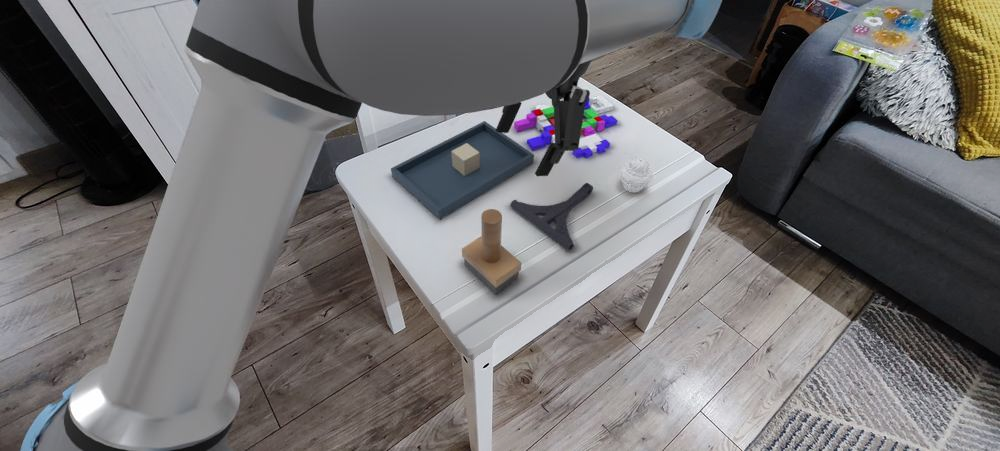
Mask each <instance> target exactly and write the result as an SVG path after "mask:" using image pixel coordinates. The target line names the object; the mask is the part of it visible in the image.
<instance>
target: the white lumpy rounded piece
mask: <svg viewBox="0 0 1000 451" xmlns="http://www.w3.org/2000/svg"><path fill="white" fill-rule="evenodd" d="M649 166H650V165H649V163H648V161H647V160H646V159H645V158H642V157H635V158H633V159H631V161H629V162H627V163H625V164H624V165H623V166H622V167H620V171H619V173H620V180H621V184H622V186H623V188H624V189H625V191H627V192H629V193H633V194H634V193H638V192H640V191H641V190H643V189H645V187H647V186H649V184H650V183H651V182H652V180H653V175H654V174H653V171H652V169H651V168H650V167H649Z"/></svg>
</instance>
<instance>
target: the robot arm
mask: <svg viewBox="0 0 1000 451" xmlns="http://www.w3.org/2000/svg"><path fill="white" fill-rule="evenodd" d="M192 1H193V3H194V4H195V6H196V10H195V11H196V12H195V15H194V17H193V20H192V23H191V28H190V31H189V34H188V37H187V39H186V43H185V46H184V52H185V55H186V56H187V58H188V59H189V61H190V63H191V64H192V66H193V68H194V70H195V71H196V73H197V75H198V77H199V78H200V84H201V85H200V86H201V87H200V90H199V93H198V97H197V99H196V101H195V105H194V108H193V111H192V114H191V117H190V120H189V122H188V126H187V129H186V132H185V134H184V138H183V140H182V143H181V146H180V150H179V152H178V154H177V158H176V161H175V164H174V167H173V169H172V173H171V176H170V178H169V182H168V184H167V187H166V190H165V194H164V196H163V199H162V202H161V205H160V208H159V211H158V213H157V217H156V220H155V223H154V224H153V225H154V226H153V228H152V230H151V234H150V237H149V240H148V243H147V246H146V250H145V252H144V255H143V258H142V261H141V263H140V266H139V270H138V273H137V275H136V279H135V281H134V284H133V287H132V290H131V293H130V296H129V299H128V302H127V305H126V309H125V311H124V314H123V316H122V319H121V323H120V326H119V329H118V332H117V335H116V337H115V340H114V343H113V346H112V349H111V352H110V354H109V358H108V361H107V362H104V363H102V364H100V365H98V366H96V367H94V368H92V369H91V370H90V371H89V372H86V374H84V376H82V377H81V379H80V380H79V381H77V382H75V383H74V384H72V385H71V386H69V387H68V388H67V389H65V390H64V391H63V392H62V393H61V394H62V399H61V400H59V401H58V402H55V403H49V404H48V405H46V406H45V407H44V409H43V410H42V411H41V412H40V413H39V414H38V415H37V417H36V418H35V419H34V421H33V422H32V424H31V425H30V426H29V428H28V430H27V432H26V434H25V436H24V438H23V441H22V444H21V448H20V451H234V449H233V448H232V447H231V445H229V440H228V436H229V433H230V432H231V429H232V426H233V424H234V420H235V418H236V415H237V414H238V411H239V407H240V403H241V394H240V389H239V388H238V386H237V384H236V382H235V381H234V379H233V378H232V375H233V373H234V370H235V368H236V365H237V363H238V360H239V357H240V355H241V353H242V351H243V348H244V345H245V342H246V340H247V337H248V335H249V333H250V329H251V327H252V324H253V322H254V320H255V317H256V314H257V312H258V310H259V307H260V304H261V302H262V299H263V297H264V294H265V292H266V289H267V287H268V284H269V282H270V279H271V276H272V274H273V272H274V269H275V267H276V264H277V262H278V259H279V256H280V254H281V251H282V249H283V246H284V244H285V241H286V239H287V236H288V234H289V232H290V228H291V226H292V223H293V221H294V218H295V215H296V213H297V211H298V208H299V206H300V203H301V201H302V198H303V195H304V193H305V191H306V188H307V186H308V183H309V180H310V178H311V176H312V173H313V170H314V168H315V165H316V163H317V160H318V157H319V156H320V153H321V150H322V147H323V145H324V143H325V140H326V137H327V135H328V134H329V133H331V132H332V131H334V130H336V129H340V128H341V127H345V126H347V125H350V124H353V123H354V122H355V120H356V119H357V117H358V114H359V112H360V109H361V107H362V105H363V104H365V105H366V106H368V107H371V108H374V109H377V110H379V111H383V112H388V113H393V114H396V115H397V114H398V115H406V116H419V117H420V116H421V117H429V116H430V117H436V116H453V115H463V114H472V113H477V112H484V111H489V110H493V109H498V108H502V111H501V113H502V114H501V116H500V119H499V121H498V124H497V126H496V127H495V128H496V131H497V132H500V133H503V134H509V132H510V130H511V128H512V126H513V125H514V122H515V119H516V117H517V115H518V113H519V111H520V109H521V106H522V104H523V103H522V102H526V101H528V100H531V99H534V98H537V97H539V96H542V95H544V94H545V95H546V97H547V98H548V99H549V100H551V105H552V107H553V106H554V124H555V143H550V144H548V147H547V149H546V151H545V153H544V155H543V157H542V158H541V161H540V162H539V164H538V165H537V168H536V170H535V171H534V175H535V176H536V177H548V176H549V175H550V173H551V171H552V169H553V167H554V165H557V164H559V163H560V161H561V159H562V158H563V156H564V154H565V152H573V151H577V150H578V148H579V141H580V138H581V135H582V134H581V128H582V122H583V121H584V118H583V116H584V109H585V104H586V102H587V100H588V97H589V96H591V93H590V90H589V89H584V88H581V87H580V86H578V84H579V80H580V78H581V77H583V75H585V74H586V72H587V70H588V69H589V67H590V64H591V63H592V61H593V60H594V59H597V58H600V57H603V56H605V55H608V54H610V53H614V52H615V51H619V50H621V49H624V48H627V47H629V46H631V45H635V44H637V43H640V42H642V41H645V40H647V39H650V38H652V37H656V36H658V35H661V34H663V33H667V34H670V35H673V36H674V37H675V38H683V39H688V40H699V39H701V38H702V37H703V36H704V35H705V34H706V33H707V32H708V31H709V29H710V27H711V25H712V24H713V23H714V20H715V18H716V16H717V14H718V13H719V9H720V7H721V4H722V2H723V0H192ZM571 93H572V94H571ZM562 139H563V140H562Z"/></svg>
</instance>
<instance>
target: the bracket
mask: <svg viewBox="0 0 1000 451" xmlns="http://www.w3.org/2000/svg"><path fill="white" fill-rule="evenodd" d="M593 191H594V186H593V185H592V184H590V183H589V182H585V183H584V184H583V185H582V186H581V187H580V188H579V189H577V190H576V192H574V193H573V194H572V195H571V196H570V197H569V198H567V199H566V200H564V201H561V202H559V203H555V204H550V205H536V204H530V203H525V202H522V201H518V200H517V199H513V200H512V201H511V202H510V208H512V209H513V210H514V211H515V212H517V213H518V214H520V216H522V217H523V218H524V219H526V220H527V221H528V222H530V223H531V224H532V225H533V226H535V227H536V228H538V229H539V230H540V231H541V232H543V233H544V234H545V235H547V237H549V238H550V239H552V240H553V241H554V242H556V243H557V244H558V245H560V246H561V247H562V248H563V249H565V250H566V251H567V252H570V251H571V250H572V249H573V248H574V246H575V243H574V240H573V239H572V237H571V235H570V233H569V230H568V223H567V220H568V217H569V214H570V212H571V211H572V209H573V208H575V207H576V206H578V204H580V203H581V202H582V201H584V200H586V199H587V198H589V197H590V196H591V194H592V193H593ZM538 215H543V216H542V217H539V216H538ZM552 223H555V224H556V226H555V228H554V227H552V226H551V224H552Z"/></svg>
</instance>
